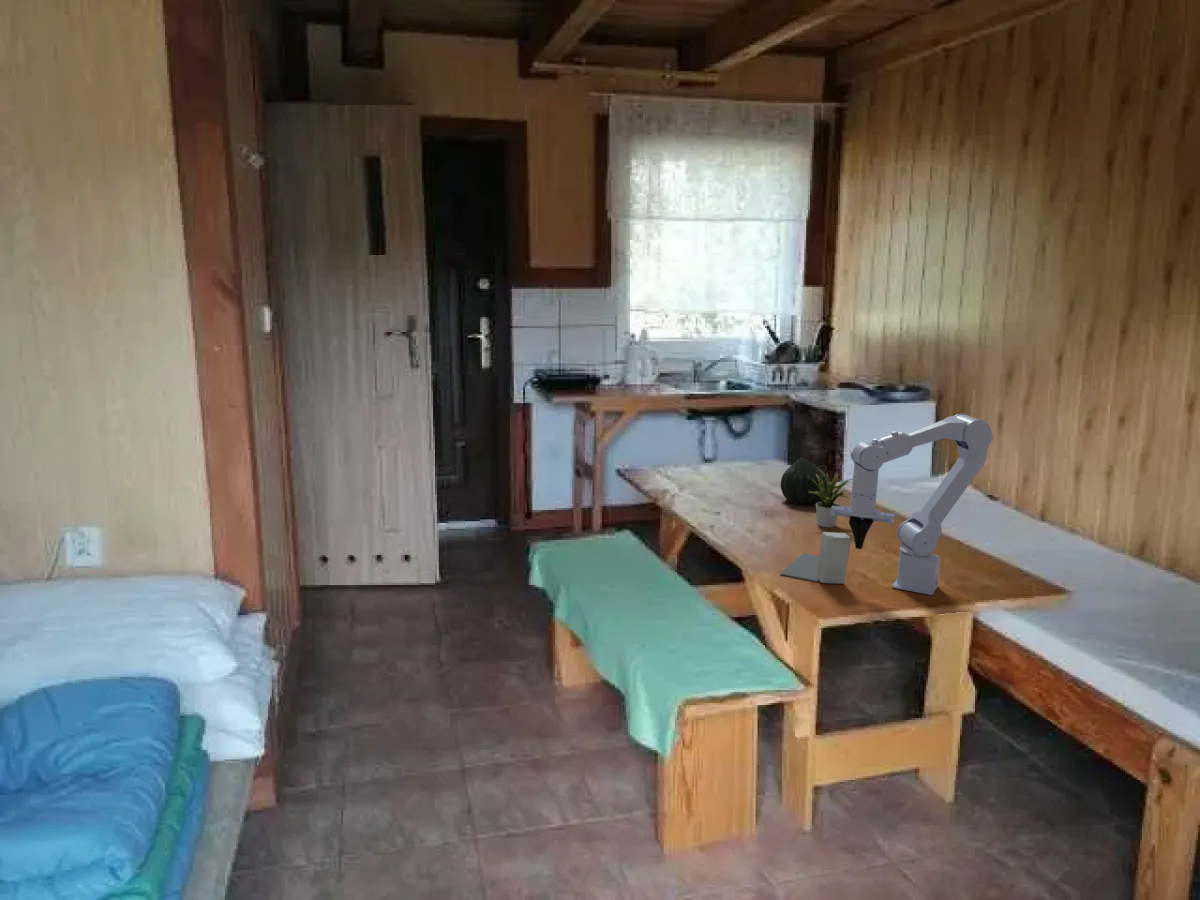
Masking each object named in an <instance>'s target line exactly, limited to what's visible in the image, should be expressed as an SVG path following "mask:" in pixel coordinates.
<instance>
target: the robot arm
mask: <svg viewBox="0 0 1200 900" xmlns="http://www.w3.org/2000/svg"><path fill="white" fill-rule="evenodd" d="M944 439H949V440H953V441H954V443H955V444H956V446H957V451H958V454H959V458H957V460H956V462H954V465H952V467H951V468H950V469H949V471H948V473H947V474H946V475H945V477H944V478H943V480H942V481H941V482H940V483H939V485H938V487H937V488H936V489H935V491H934V492H933V494H932V495H931V496H930V498H929V499H928V501H927V502H926V503H925V504H924V506H923V507H922V509H921V510H919V511H915V512H914V513H912V514H911V515H910V517H909V518H908V519H907V520H905V521H903V522H901V523H900V525H899V526H898V528H897V530H896V535H897V539H898V541H899V542H900V547H899V556H898V566H897V576H896V580H895V581H894V582H893V584H892V585H891V588H892V589H893V588H894V589H899V590H902V591H903V590H904V591H908V592H913V593H920V594H924V595H930V596H933V594H934V593H935V591H936V590H937V588H938V587H939V578H940V577H939V576H940V567H941V557H940V555H938V554H937V555H936V554H933V552H934V551H935V550H936V548H937V546H938V541H939V539H940V536H941V535H942V532H943V529H942V523H943V521H945V519H946V517H947V516H948V514H950V512H951V511H952V510H953V507H954V506H955V505H956V503H957V502H958V501H959V499H960V498H961V497H962V495H963V494H964V492H965V491H966V490H967V488H968V487H969V486H970V484H971V483H972V482H973V480H974V479H975V478H976V476H977V474H978V473H979V472H980V470H981V469H982V468H983V466H984V465H985V463H986V461H987V456H988V451H989V446H990V444H991V443H992V442H993V440H994V435H993V432H992V427H991V426H990V424H989V423H988V422H987V421H986V420H983V419H978V418H975V417H972V416H970V415H969V414H968V413H957V414H955V415H952V416H947V417H945V418H944V419H942V420H940V421H936V422H935V423H931V424H930V425H928V426H925V427H923V428H920V429H918V430H915V431H912V432H911V433H905V432H903V431H897V430H893V431H890V435H889V434H888V435H886V436H883V437H880V438H873V439H871V442H867V441H861V442H859V443H858V444H856V445H855V446H854V448H853V450H852V452H850V458H851V460H852V462H853V464H854V466H853V472H852V473H853V474H852V479H853V480H852V481H851V483H852V484H851V485H852V486H851V495H850V496H851V497H850V506H840V507H838V506H832V507H831V514H830V515H832V516H835V515H837V517H838V516H839V517H845V518H849V519H848V524H849V527H850V529H851V532H852V534H853V539H854V545H855V549H856V550H862V549H863V547H864V543H865V541H866V537H867V534H868V533H869V530H870V528H871V526H872V525H873V523H874V522H880V523H887V524H889V525H893V524H894V522H895V514H894V513H888V512H883V511H880V510H876V504H877V502H876V501H877V493H878V492H877V491H878V483H879V482H878V480H879V471H880V468H882V466H883V465H884V464H885V463H887V462H890V461H894V460H896V459H899V458H901V457H904V456H908V455H910V454H911V452H912V450H913V449H914V448H916V447H919V446H923V445H925V444H929V443H933V442H936V441H940V440H944Z"/></svg>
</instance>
